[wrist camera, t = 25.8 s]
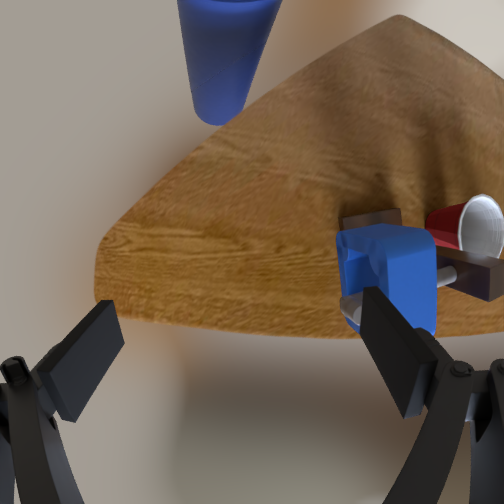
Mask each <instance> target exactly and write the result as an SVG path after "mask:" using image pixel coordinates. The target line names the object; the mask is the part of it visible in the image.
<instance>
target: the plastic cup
mask: <svg viewBox="0 0 504 504" xmlns="http://www.w3.org/2000/svg"><path fill="white" fill-rule="evenodd" d="M425 230H427V231H429V232H430V234H431V235H432V237H433V239H434V241H435V245H438V246H443V247H448V248H453V249H457V250H462V251H467V252H471V253H476V254H481V255H485V256H490V257H494V258H499V256H500V254H501V251H502V248H503V246H504V217H503V214H502V212H501V209H500V207H499V205H498V204H497V203H496V202H495V200H494V199H493V198H492V197H490V196H487V195H484V194H480V195H477V196H474V197H472V198H471V199H470V200H469V201H467V202H465V203H461V204H457V205H453V206H449V207H446V208H442V209H437V210H434V211H432V212H431V213H430V214H429V215H428V218H427V220H426V225H425Z"/></svg>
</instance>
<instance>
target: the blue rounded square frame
mask: <svg viewBox="0 0 504 504" xmlns="http://www.w3.org/2000/svg"><path fill="white" fill-rule="evenodd" d="M336 245H337V253H338V261H339V270H340V279H341V289H342V297H344V296H347V295H351V294H355V293H359V292H362V291H363V287H371V286H378V287H380V290H381V291H382V292H383V293H384V294H385V295H386V297H387V298H388V299H389V300H390V301H391V302H392V304H393V305H394V306H395V307H396V308H397V309H398V311H399V312H400V313H401V314H402V315H403V316H404V318H405V319H406V320H407V321H408V322H409V324H410V325H411V326H412V327H413V328H419V327H422V328H423V329H425V330H427V331H429V332H430V333H431V334H432V335H434V333H435V330H436V311H437V263H436V245H435V241H434V239H433V237H432V235H431V234H430V232H429V231H427V230H425V229H421V228H414V227H406V226H399V225H392V224H384V223H381V224H375V225H370V226H365V227H360V228H354V229H349V230H344V231H339V232H338V233H337V236H336ZM345 318H346V321H347V322H348V324H349V325H350V326H351V327H352V328H353V329H354V330H355V331H356V332H358V333H359V331H360V325H357V324H355V323H354V322H353V321H352V320H350V319H349V318H348V317H347V316H345Z"/></svg>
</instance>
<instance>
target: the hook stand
mask: <svg viewBox="0 0 504 504" xmlns="http://www.w3.org/2000/svg"><path fill="white" fill-rule="evenodd" d="M338 219H339V226H340V231H344V230H349V229H354V228H360V227H365V226H370V225H375V224H381V223H384V224H392V225H399V226H402V219H401V211H400V208H392V209H386V210H380V211H374V212H368V213H362V214H357V215H351V216H345V217H340V218H338ZM436 263H437V288H438V287H441V286H447V287H450V288H453V289H455V290H458V291H461V292H463V293H466V294H469V295H471V296H474V297H476V298H479V299H482V300H484V301H487V302H490V301H492V300H494V299H496V298H498V297H500V296H502V295H504V260H503V259H498V258H494V257H490V256H485V255H481V254H476V253H471V252H467V251H462V250H457V249H453V248H448V247H443V246H438V245H436ZM378 288H379V289H380V287H378ZM362 299H363V291H362V292H359V293H355V294H351V295H347V296H344V297H341V298H340V309H341V312H342V313H343V315H344V316H347V317H348V318H349V319H350V320H352V321H353V322H354V323H355V324H357V325H360V322H361V311H362Z"/></svg>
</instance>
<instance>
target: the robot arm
mask: <svg viewBox="0 0 504 504" xmlns="http://www.w3.org/2000/svg"><path fill="white" fill-rule="evenodd" d="M359 334H360V336H361V338H362V339H363V341H364V343H365V345H366V347H367V349H368V350H369V352H370V354H371V356H372V358H373V360H374V362H375V364H376V366H377V368H378V370H379V371H380V373H381V375H382V377H383V379H384V381H385V383H386V385H387V387H388V389H389V391H390V393H391V395H392V397H393V399H394V401H395V403H396V405H397V407H398V409H399V411H400V413H401V415H402V417H403V419H405V418H409V417H413V416H417V415H420V414H421V412H422V409H423V406H424V404H425V406H426V407H427V409H428V413H427V416H426V418H425V421H424V423H423V425H422V428H421V430H420V432H419V435H418V437H417V439H416V441H415V443H414V446H413V448H412V450H411V452H410V454H409V456H408V458H407V460H406V462H405V464H404V466H403V468H402V470H401V472H400V474H399V476H398V477H397V479H396V481H395V483H394V485H393V487H392V488H391V490H390V492H389V493H388V495H387V497H386V498H385V500H384V502H383V503H382V504H437V502H438V500H439V497H440V495H441V492H442V490H443V487H444V485H445V482H446V480H447V477H448V474H449V472H450V469H451V466H452V463H453V460H454V457H455V454H456V451H457V448H458V444H459V441H460V437H461V434H462V430H463V427H464V423H465V421H470V434H471V481H470V499H469V504H504V359H497V360H495V361H493V362H492V364H491V366H490V369H489V370H485V371H474V369H473V367H472V366H471V365H469V364H468V363H466V362H463V361H454V360H453V359H452V357H451V356H450V355H449V354H448V353H447V352H446V350H445V349H444V348H443V347H442V346H441V345H440V343H439V342H438V341H437V340H435V338H434V336H433V335H432V334H431V333H430V332H429V331H427V330H425V329H423V328H422V327H419V328H413V327H412V326H411V325H410V324H409V322H408V321H407V320H406V319H405V318H404V316H403V315H402V314H401V313H400V312H399V311H398V309H397V308H396V307H395V306H394V305H393V304H392V302H391V301H390V300H389V299H388V298H387V297H386V295H385V294H384V293H383V292H382V291H381V290H380V289H379V288H378V286H371V287H363V299H362V311H361V322H360V331H359ZM123 345H124V339H123V336H122V333H121V329H120V325H119V322H118V318H117V314H116V310H115V306H114V302H113V300H101V301H100V302H99V303H98V304H97V305H96V306H95V307H94V308H93V309H92V310H91V311H90V312H89V313H88V314H87V315H86V316H85V317H84V318H83V319H82V320H81V321H80V322H79V324H78V325H77V326H76V327H75V328H74V329H73V330H72V331H71V332H70V333H69V334H68V335H67V336H66V337H65V338H64V339H63V341H61V342H60V343H58V344H57V345H55V346H54V347H52V349H50V350H49V352H48V353H47V354H46V355H45V356H44V357H43V359H41V360H40V361H39V362H38V364H37V365H36V366H35V367H34V368H33V369H32V370H31V371H29V369H28V367H27V365H26V363H25V360H24V358H23V357H21V356H14V357H11V358H8V359H7V360H5V361H4V362H3V363H2V364H1V365H0V370H1V373H2V375H3V376H4V378H5V380H6V382H7V383H0V504H14V484H15V478H16V483H17V488H18V493H19V498H20V502H21V504H84V501H83V499H82V497H81V494H80V492H79V489H78V487H77V484H76V482H75V479H74V476H73V474H72V471H71V468H70V465H69V463H68V459H67V456H66V453H65V450H64V447H63V444H62V440H61V437H60V434H59V430H58V427H57V423H56V420H55V418H54V417H53V414H54V413H55V411H56V410H57V412H58V414H59V415H60V417H61V419H62V420H65V421H70V422H74V423H76V421H77V419H78V417H79V416H80V414H81V412H82V411H83V409H84V407H85V406H86V404H87V402H88V401H89V399H90V397H91V396H92V394H93V392H94V391H95V389H96V388H97V386H98V384H99V383H100V381H101V380H102V378H103V376H104V375H105V373H106V372H107V370H108V368H109V367H110V365H111V364H112V362H113V361H114V359H115V357H116V356H117V354H118V353H119V351H120V350H121V348H122V347H123Z"/></svg>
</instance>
